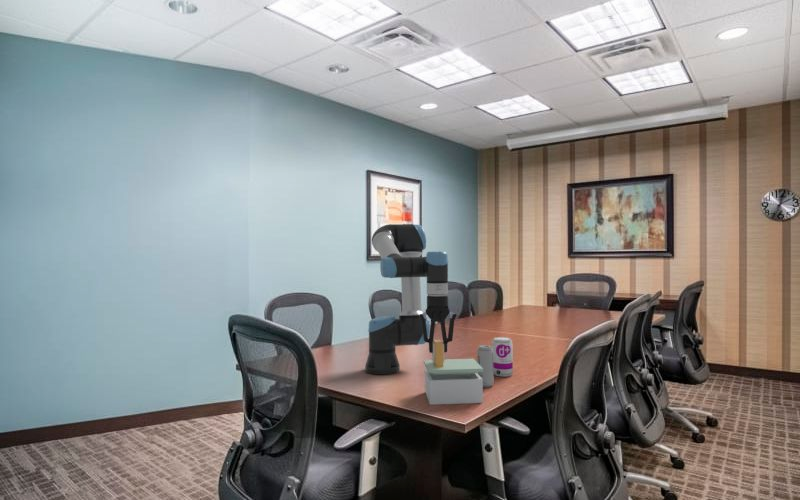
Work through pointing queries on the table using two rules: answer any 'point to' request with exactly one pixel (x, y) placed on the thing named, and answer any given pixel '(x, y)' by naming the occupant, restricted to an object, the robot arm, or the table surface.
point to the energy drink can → (486, 364)
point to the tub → (453, 388)
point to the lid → (450, 363)
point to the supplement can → (502, 356)
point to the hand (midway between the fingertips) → (438, 361)
